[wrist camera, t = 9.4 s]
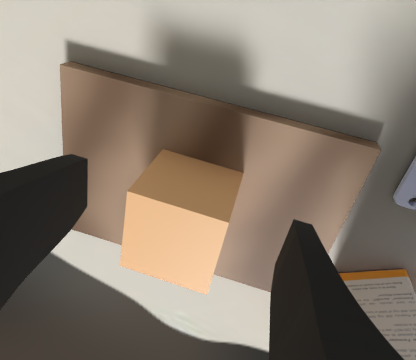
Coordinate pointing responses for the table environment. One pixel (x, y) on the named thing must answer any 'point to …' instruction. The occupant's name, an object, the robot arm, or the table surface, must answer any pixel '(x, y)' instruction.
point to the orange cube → (178, 219)
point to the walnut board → (212, 153)
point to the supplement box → (388, 305)
